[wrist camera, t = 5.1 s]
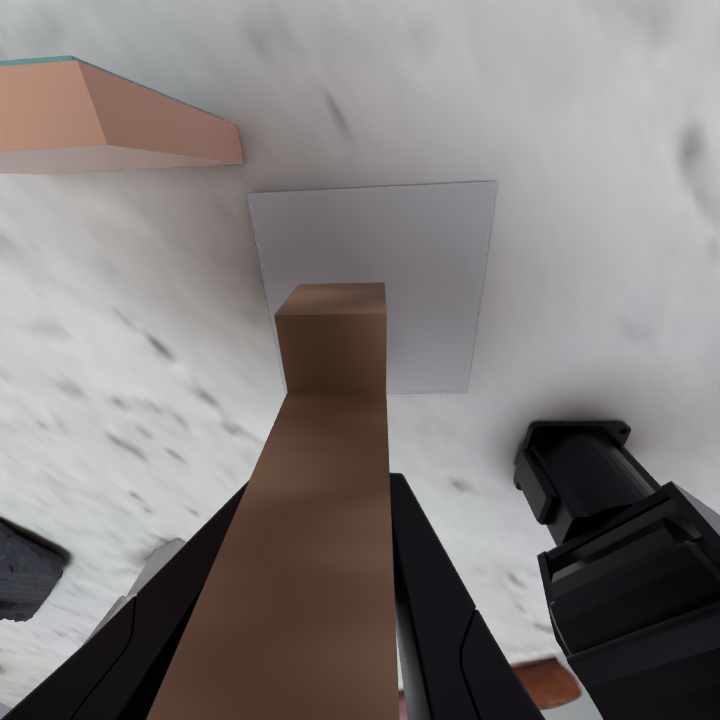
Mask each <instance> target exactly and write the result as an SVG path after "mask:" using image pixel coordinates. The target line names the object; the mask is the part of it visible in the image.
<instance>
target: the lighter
mask: <svg viewBox="0 0 720 720" xmlns="http://www.w3.org/2000/svg"><path fill="white" fill-rule="evenodd" d="M185 544H186V542H185V541H183V540H181V539H179V538H177V539H175V540H173V541H171V542H169V543H167V544H165V545H163V546H161V547H159V548H158V549H156V550H154V552H153V553H152V555H151V557H150V558H149V560H148V562H147V563H146V565H145V567H144V568H143V570H142V572H141V573H140V575H139V576H138V578H137V580H136V581H135V583H134V585H133V586H132V588H131V590H130V591H129V593H128V595H127V596H126V597H125V596H121V597H120V598H119V599H118V600H117V601H116V603H115V604H114V605H113V607H112V608H111V609H110V611H109V612H108V613H107V614H106V616H105V617H104V618H103V620H102V621H101V622H100V623H99V625H98V626H97V627H96V629H95V630H94V631H93V633H92V634H91V635H90V636H89V638H88V639H87V640H86V642H87V641H88V640H89V639H90V638H91V637H92V636H93V635H94V634H95V633H96V632H98V631H99V630H100V629H101V628H102V627H103V626H104V625H105V624H106V623H107V622H108V621H109V620H110V619H111V618H112V617H113V616H114V615H115V614H116V613H117V612H118V611H119V610H120V609H121V608H122V607H123V606H124V605H125V604H126V603H127V602H128V601H129V600H130V599H131V598H132V597H133V596H136V595H137V592H138V591H139V590H140V589H141V588H142V587H143V586H144V585H145V584H146V583H147V582H148V581H149V580H150V579H151V578H152V577H153V576H154V575H155V574H156V573H157V572H158V571H159V570H160V569H161V568H162V567H163V566H164V565H165V564H166V563H167V562H168V561H169V560H170V559H171V558H172V557H173V556H174V555H175V554H176V553H177V552H178V551H179V550H180V549H181V548H182V547H183V546H184V545H185ZM86 642H85V643H86ZM85 643H84V644H85ZM84 644H83V645H84Z"/></svg>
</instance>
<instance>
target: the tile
mask: <svg viewBox="0 0 720 720" xmlns="http://www.w3.org/2000/svg"><path fill="white" fill-rule="evenodd" d="M232 164H244V159H243V154H242V148H241V143H240V138H239V133H238V127H237V125H235V124H232V123H230V122H227V121H225V120H224V119H222V118H220V117H218V116H215V115H213V114H210V113H208V112H206V111H203V110H201V109H198V108H196V107H193V106H191V105H189V104H186V103H184V102H181V101H179V100H177V99H174V98H172V97H169V96H167V95H164V94H162V93H160V92H157V91H155V90H152V89H150V88H148V87H145V86H143V85H140V84H138V83H135V82H133V81H131V80H128V79H126V78H123V77H121V76H119V75H116V74H114V73H111V72H109V71H106V70H104V69H102V68H99V67H97V66H94V65H92V64H90V63H87V62H85V61H82V60H80V59H77V58H75V57H73V56H59V57H46V58H34V59H21V60H8V61H0V173H8V174H67V173H85V172H103V171H122V170H140V169H158V168H177V167H195V166H213V165H232Z"/></svg>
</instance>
